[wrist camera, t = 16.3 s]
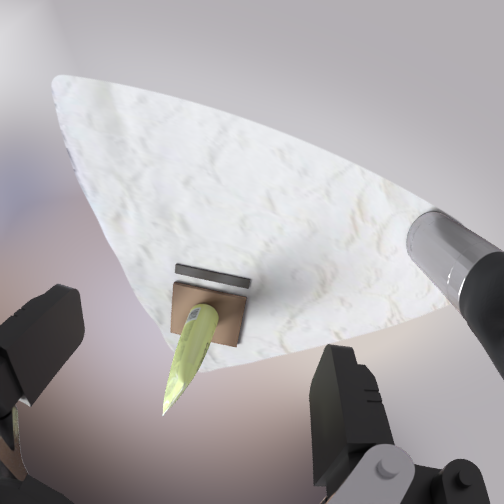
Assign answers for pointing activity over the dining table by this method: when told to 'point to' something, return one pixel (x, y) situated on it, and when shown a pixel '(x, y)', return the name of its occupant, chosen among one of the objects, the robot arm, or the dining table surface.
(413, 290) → the dining table surface
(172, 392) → the tube
